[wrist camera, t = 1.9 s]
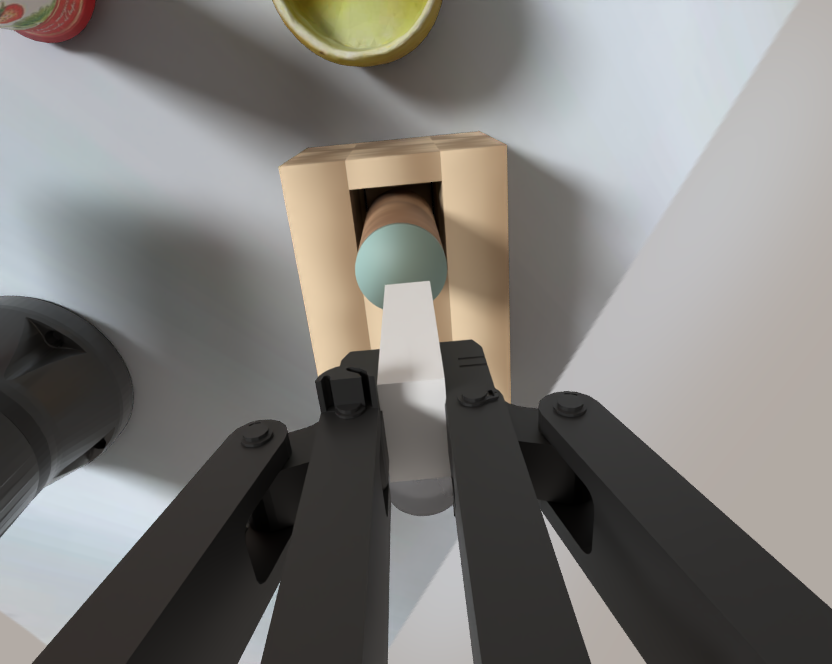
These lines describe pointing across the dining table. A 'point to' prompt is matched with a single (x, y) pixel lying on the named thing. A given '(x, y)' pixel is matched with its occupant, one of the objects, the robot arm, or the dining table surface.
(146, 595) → the robot arm
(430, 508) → the metal pin
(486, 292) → the oak block
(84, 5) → the liquor
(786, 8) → the dining table surface
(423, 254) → the walnut peg
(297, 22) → the mug
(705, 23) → the dining table surface
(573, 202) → the dining table surface
